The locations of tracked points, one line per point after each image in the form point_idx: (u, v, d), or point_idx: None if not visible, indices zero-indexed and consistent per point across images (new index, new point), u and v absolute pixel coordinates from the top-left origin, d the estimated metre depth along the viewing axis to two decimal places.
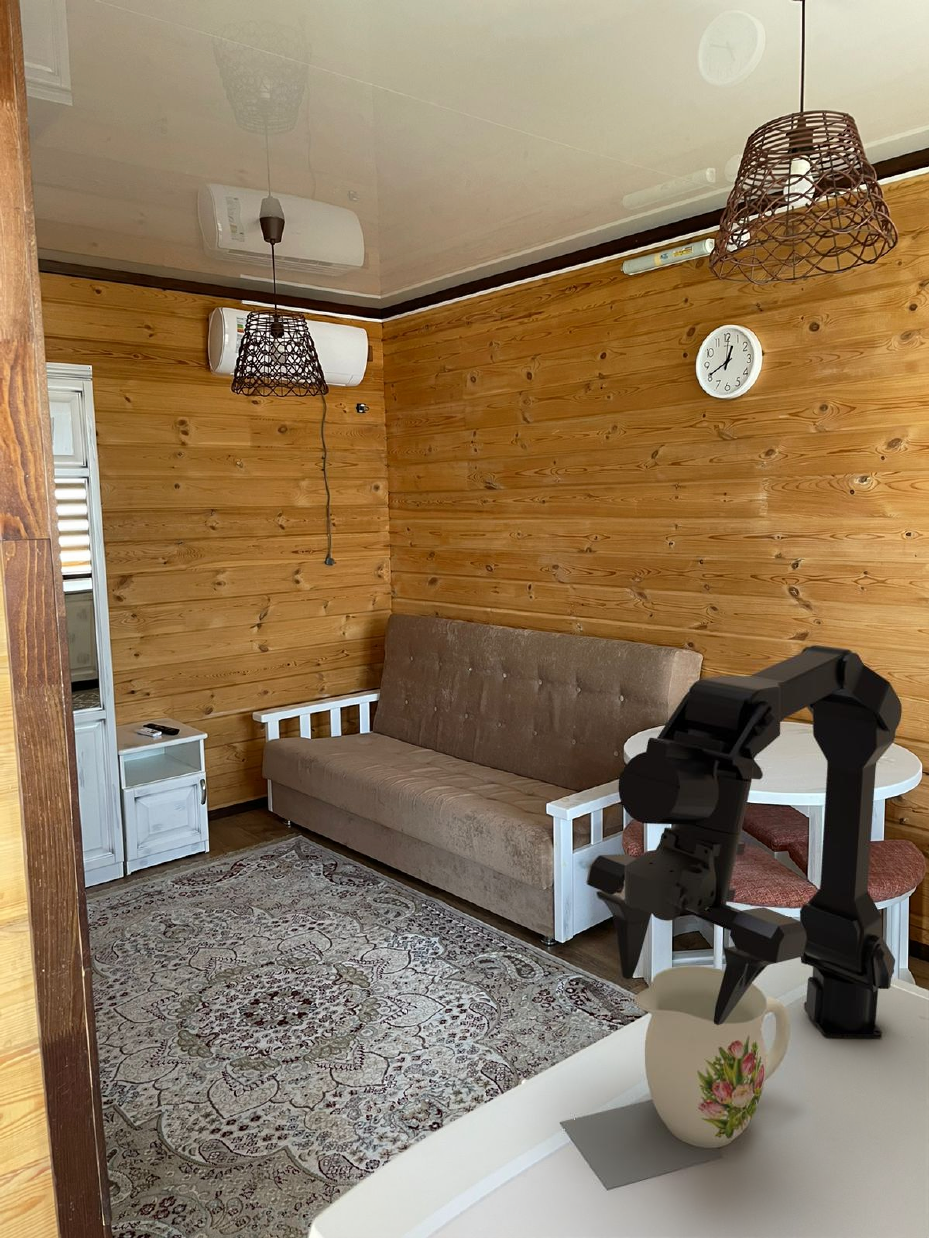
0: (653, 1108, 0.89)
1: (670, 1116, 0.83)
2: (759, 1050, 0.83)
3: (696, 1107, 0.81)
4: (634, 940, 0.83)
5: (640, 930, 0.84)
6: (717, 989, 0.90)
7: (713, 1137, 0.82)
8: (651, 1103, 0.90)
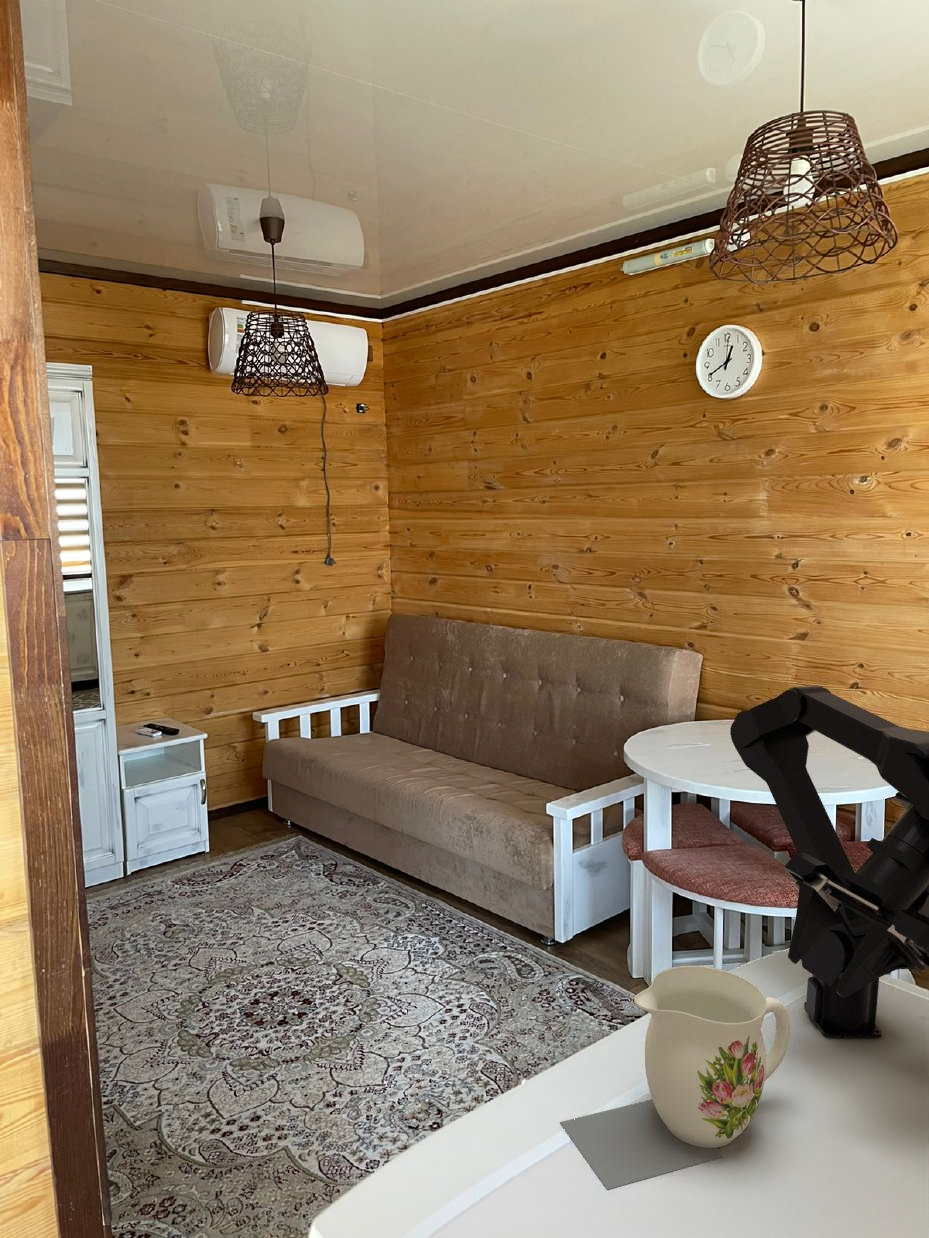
0: (653, 1108, 0.89)
1: (670, 1116, 0.83)
2: (759, 1050, 0.83)
3: (696, 1107, 0.81)
4: None
5: None
6: (717, 989, 0.90)
7: (713, 1137, 0.82)
8: (651, 1103, 0.90)
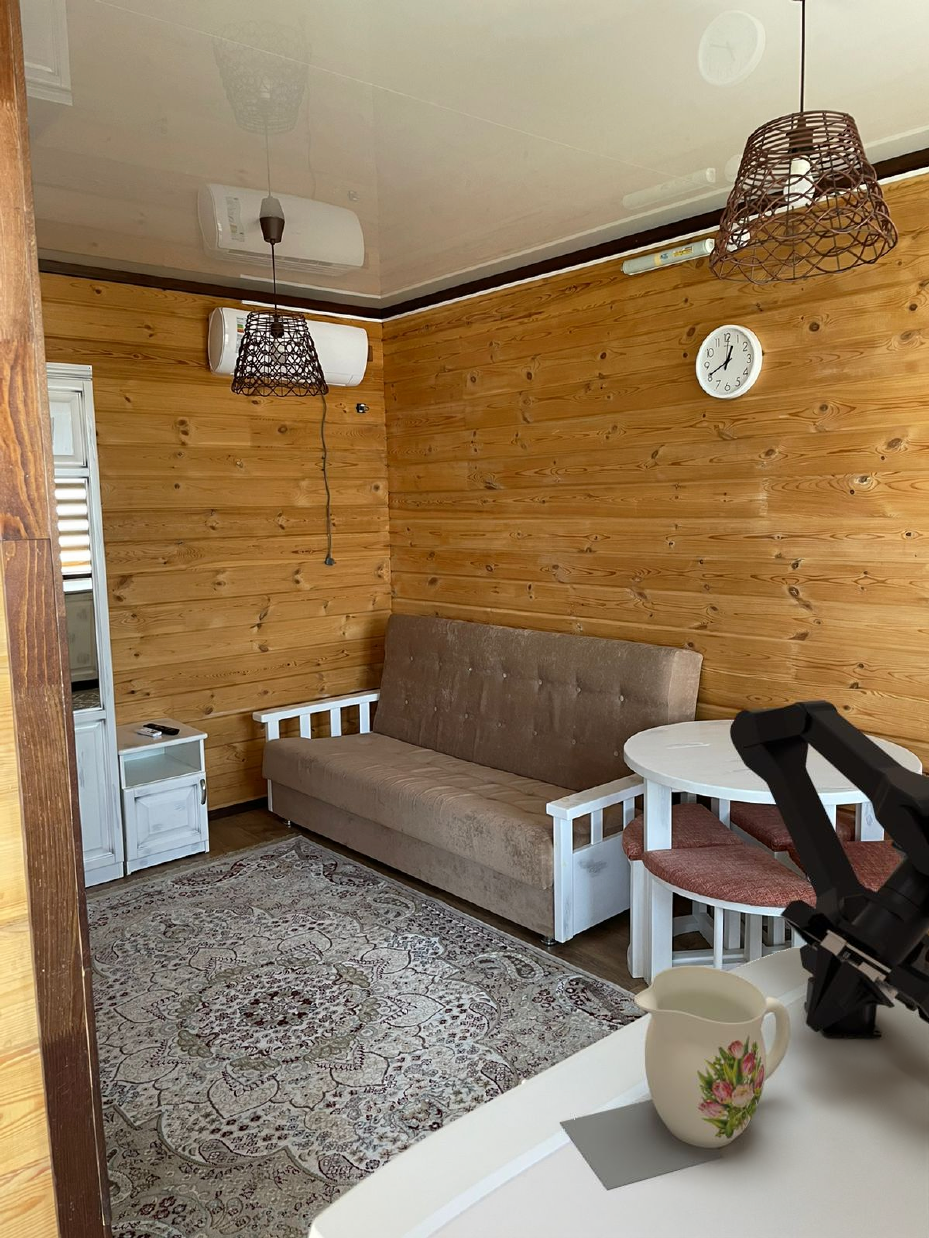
0: (653, 1108, 0.89)
1: (670, 1116, 0.83)
2: (759, 1050, 0.83)
3: (696, 1107, 0.81)
4: None
5: None
6: (717, 989, 0.90)
7: (713, 1137, 0.82)
8: (651, 1103, 0.90)
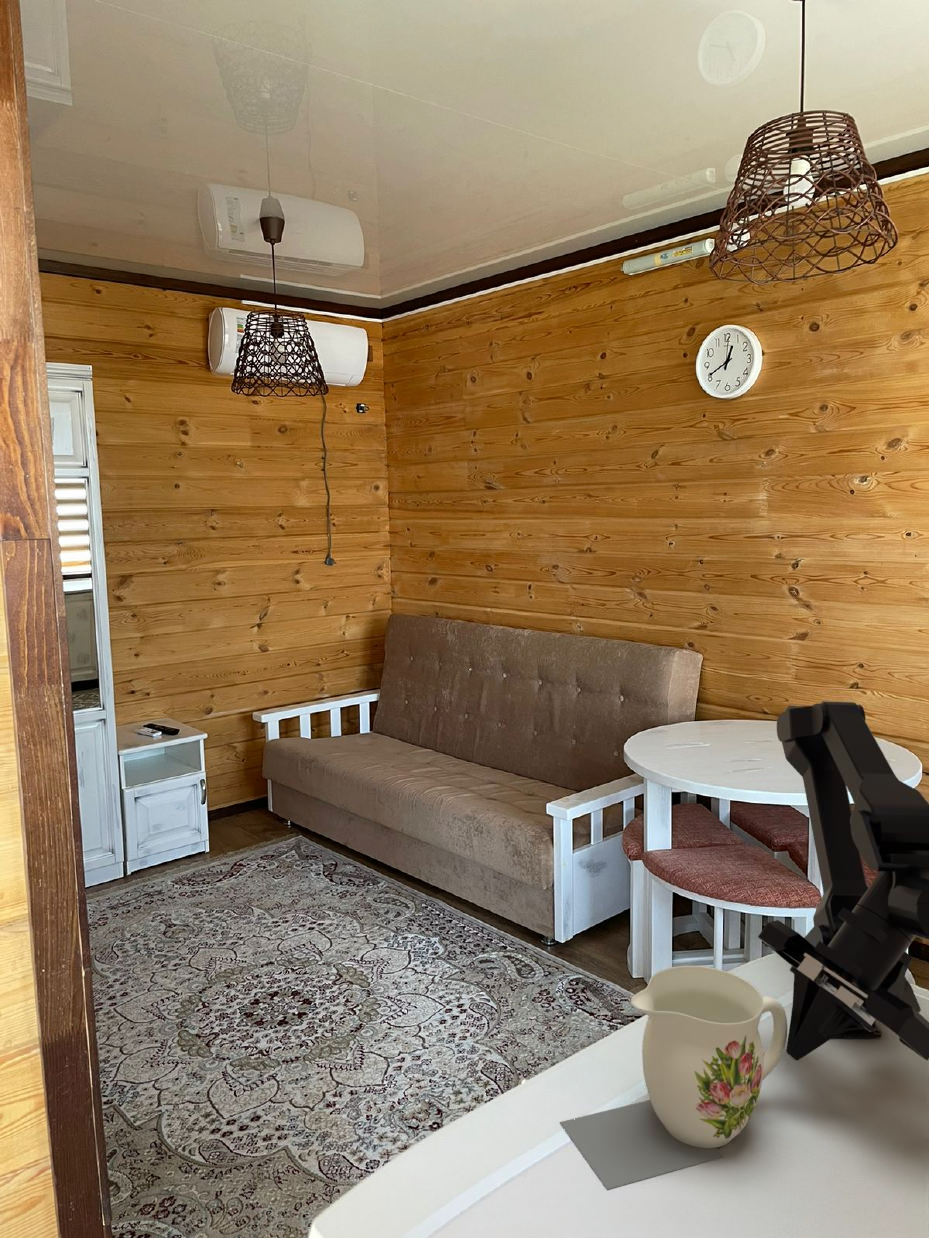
0: (653, 1108, 0.89)
1: (668, 1117, 0.83)
2: (756, 1050, 0.83)
3: (694, 1107, 0.81)
4: None
5: None
6: (714, 988, 0.90)
7: (711, 1137, 0.82)
8: (651, 1103, 0.90)
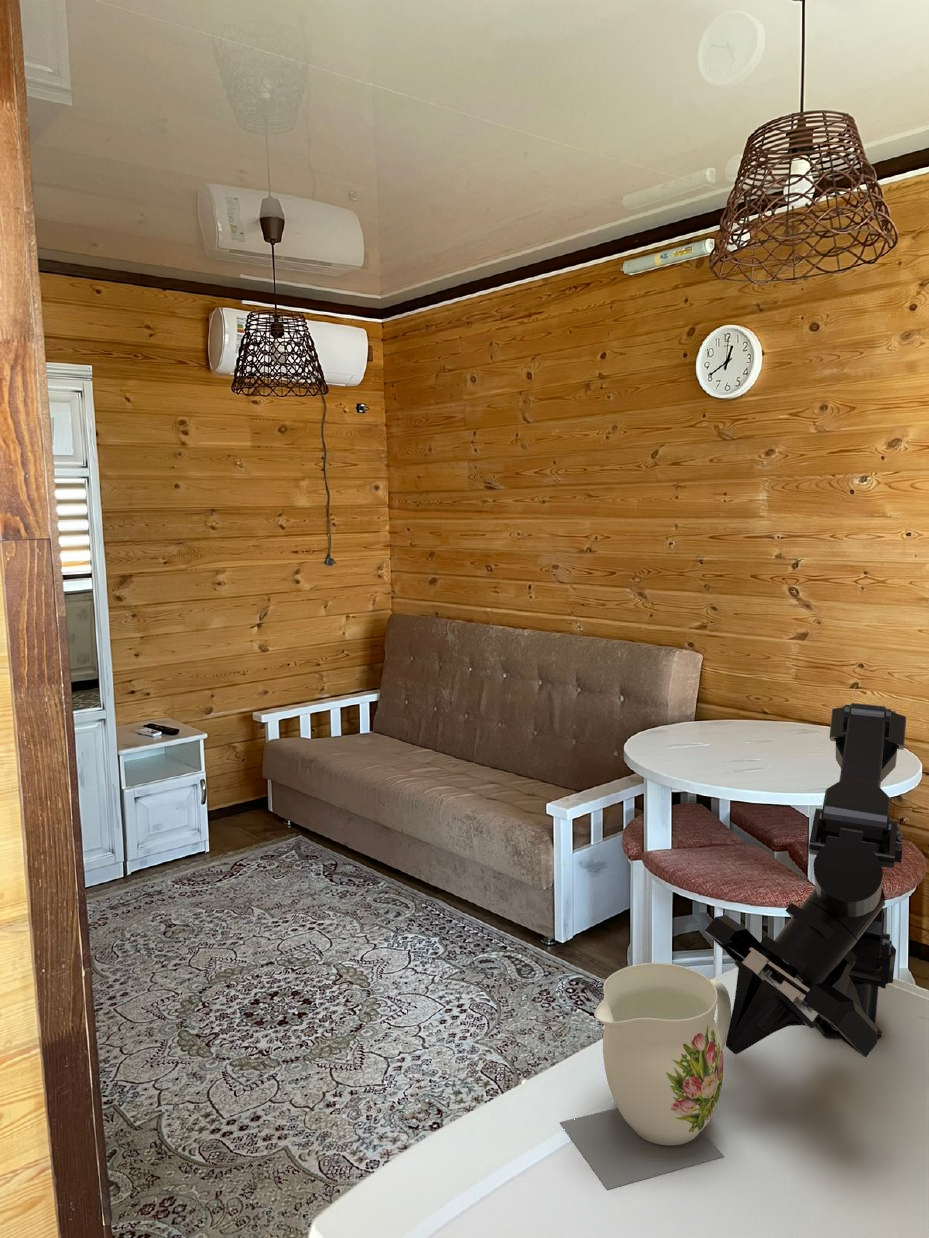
0: None
1: (642, 1123, 0.82)
2: (716, 1036, 0.83)
3: (669, 1108, 0.81)
4: None
5: None
6: (660, 983, 0.90)
7: (687, 1133, 0.82)
8: None
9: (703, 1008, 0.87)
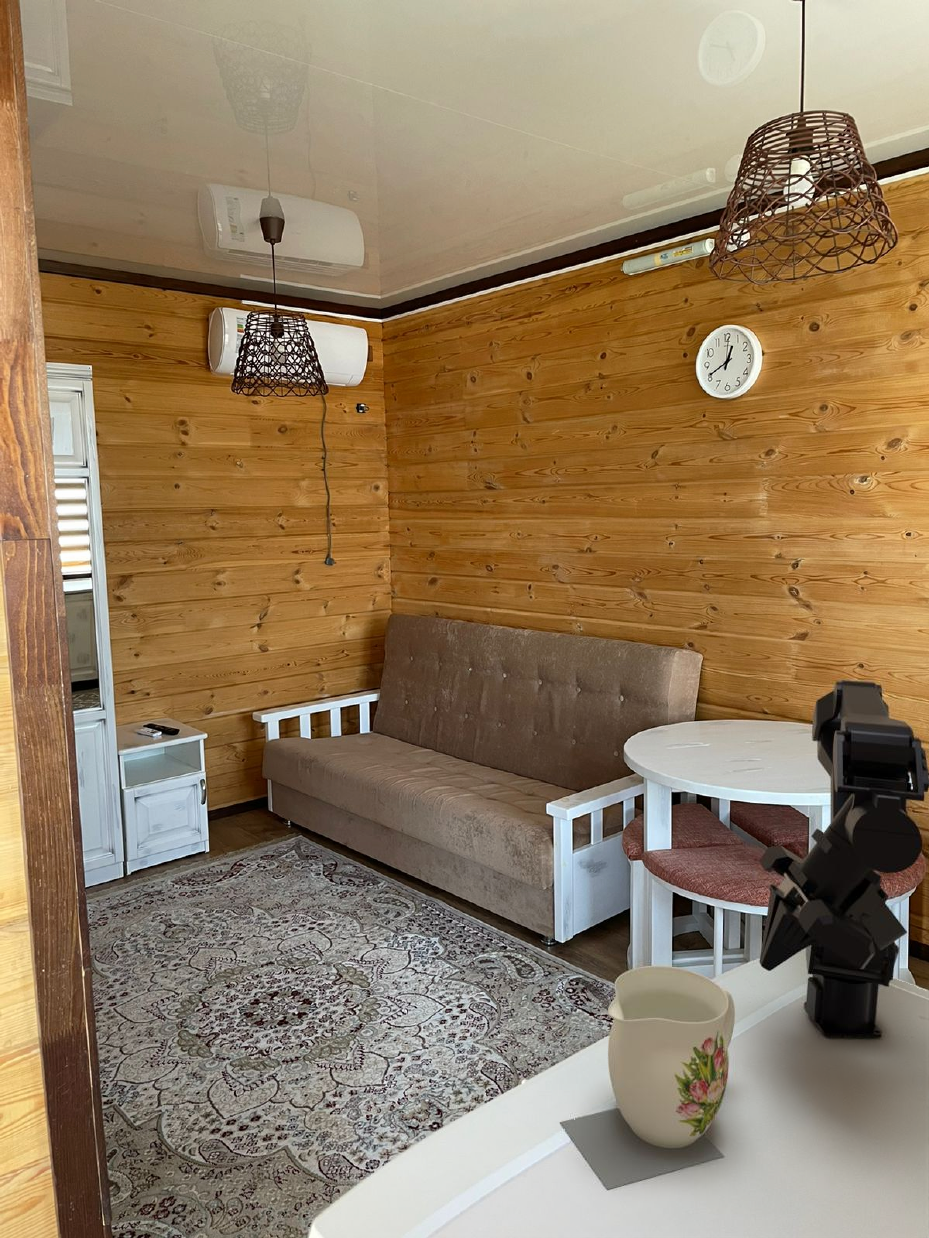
0: None
1: (645, 1123, 0.82)
2: (724, 1043, 0.84)
3: (673, 1110, 0.81)
4: None
5: None
6: (668, 986, 0.90)
7: (688, 1136, 0.82)
8: None
9: (710, 1014, 0.87)
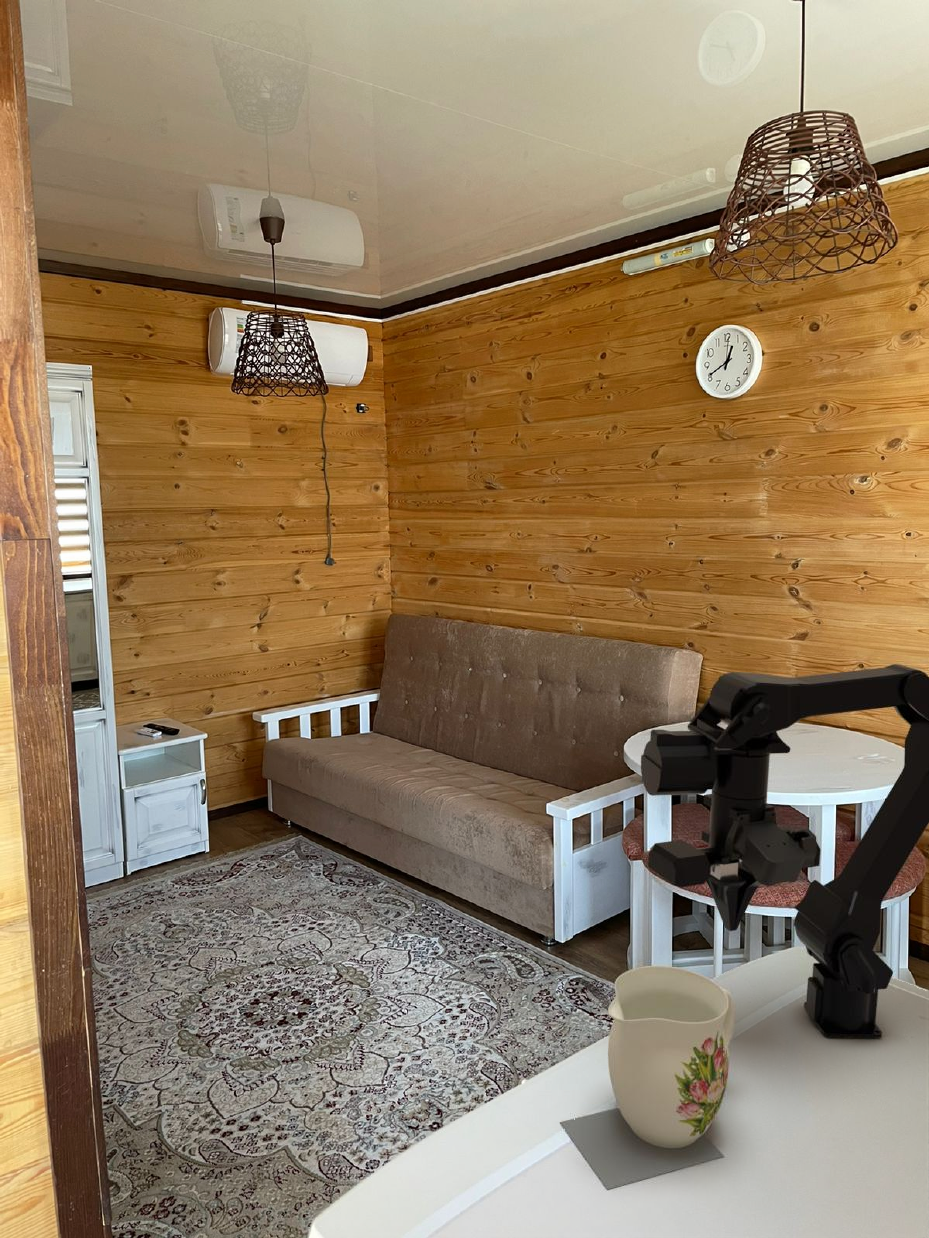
0: None
1: (645, 1123, 0.82)
2: (724, 1043, 0.84)
3: (673, 1110, 0.81)
4: None
5: None
6: (668, 986, 0.90)
7: (688, 1136, 0.82)
8: None
9: (710, 1014, 0.87)
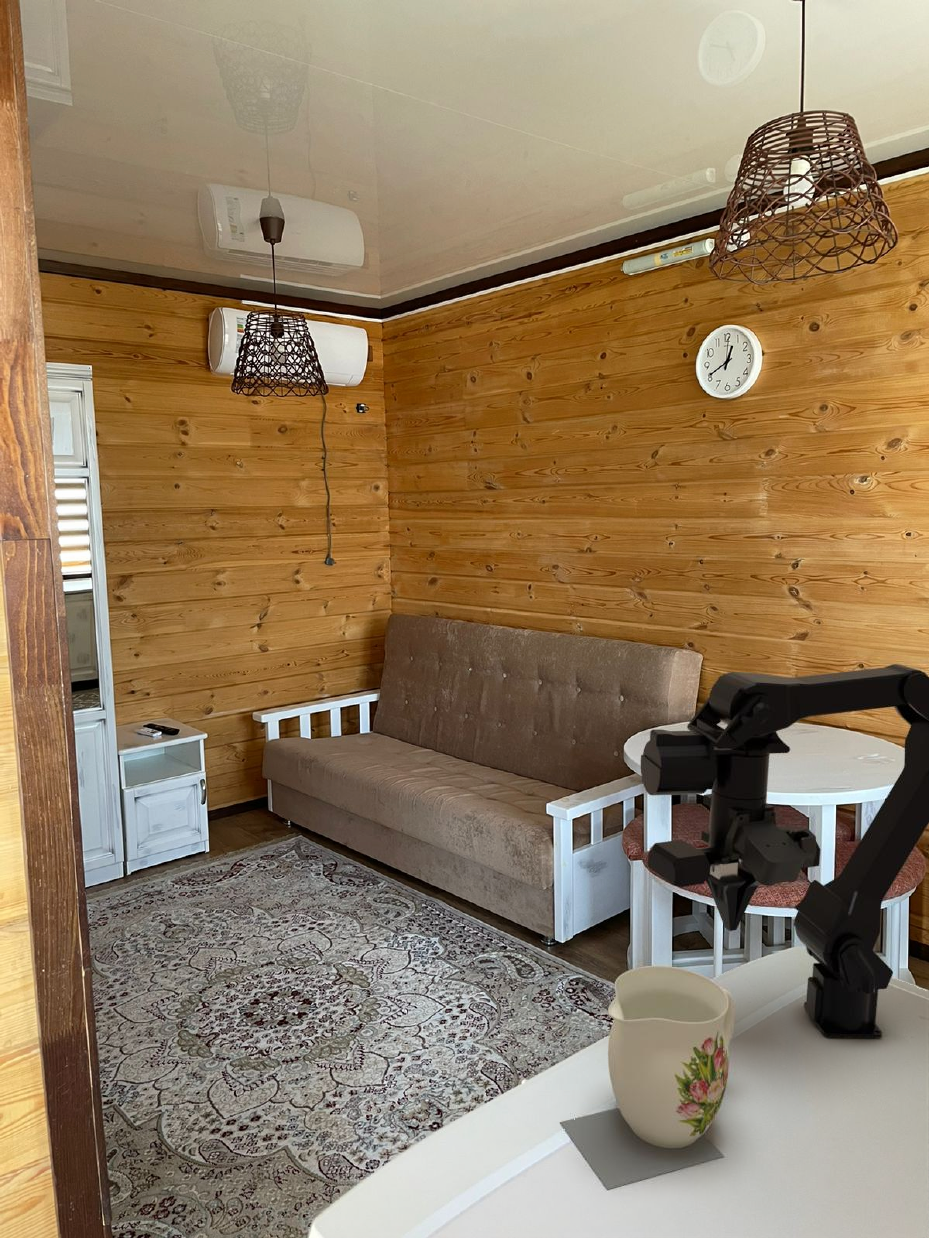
0: None
1: (645, 1123, 0.82)
2: (724, 1043, 0.84)
3: (674, 1110, 0.81)
4: None
5: None
6: (668, 986, 0.90)
7: (688, 1137, 0.82)
8: None
9: (710, 1014, 0.87)
